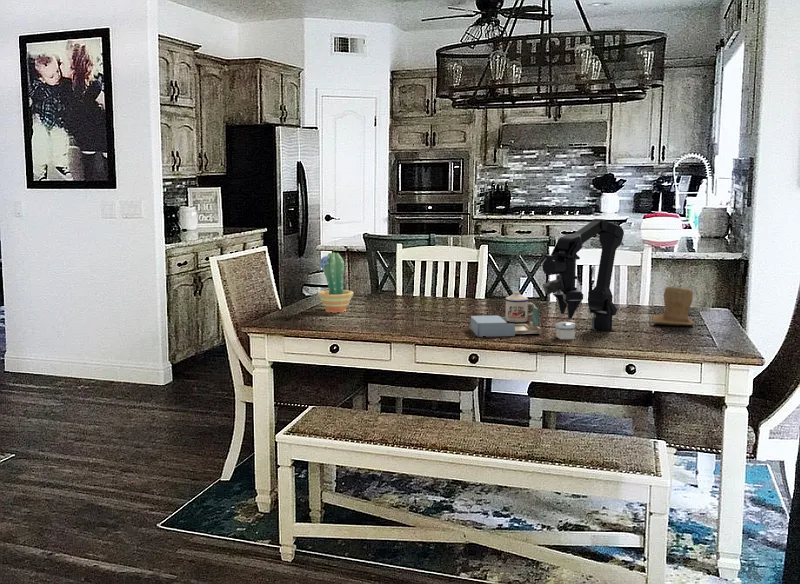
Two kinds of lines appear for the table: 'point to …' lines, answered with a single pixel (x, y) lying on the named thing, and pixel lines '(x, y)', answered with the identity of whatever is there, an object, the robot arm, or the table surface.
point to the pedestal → (565, 334)
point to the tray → (529, 325)
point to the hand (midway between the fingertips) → (566, 316)
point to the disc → (565, 326)
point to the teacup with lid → (517, 308)
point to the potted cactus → (334, 284)
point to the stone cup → (675, 307)
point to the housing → (491, 326)
